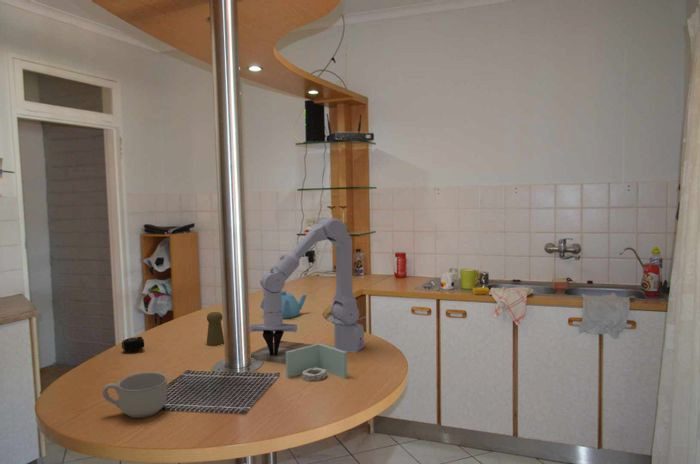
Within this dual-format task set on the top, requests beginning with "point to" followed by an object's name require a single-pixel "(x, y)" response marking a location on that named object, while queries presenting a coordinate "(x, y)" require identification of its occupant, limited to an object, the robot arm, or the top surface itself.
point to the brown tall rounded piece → (214, 329)
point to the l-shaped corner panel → (316, 362)
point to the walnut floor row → (292, 345)
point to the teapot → (290, 305)
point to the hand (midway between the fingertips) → (273, 354)
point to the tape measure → (132, 343)
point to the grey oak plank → (265, 355)
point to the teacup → (139, 394)
